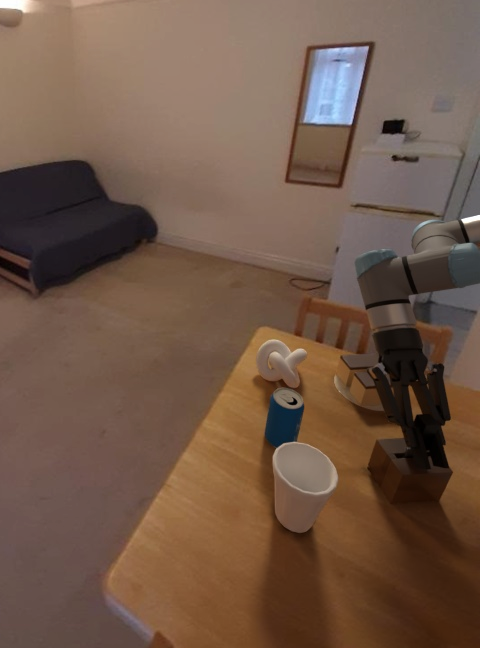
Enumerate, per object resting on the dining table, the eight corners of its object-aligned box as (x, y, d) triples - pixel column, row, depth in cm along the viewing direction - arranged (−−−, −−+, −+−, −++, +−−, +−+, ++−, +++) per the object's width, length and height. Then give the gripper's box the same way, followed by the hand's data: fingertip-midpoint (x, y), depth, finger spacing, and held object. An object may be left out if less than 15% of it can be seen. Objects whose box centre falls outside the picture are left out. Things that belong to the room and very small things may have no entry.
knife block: (411, 464, 80) (422, 436, 77) (439, 501, 73) (453, 472, 70) (366, 467, 80) (376, 439, 77) (390, 504, 73) (402, 475, 70)
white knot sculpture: (247, 381, 102) (251, 353, 98) (261, 355, 111) (265, 328, 107) (294, 399, 96) (300, 370, 93) (305, 369, 105) (310, 342, 102)
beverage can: (285, 458, 82) (294, 415, 77) (258, 438, 87) (264, 396, 82) (302, 440, 86) (311, 398, 81) (274, 422, 91) (282, 381, 85)
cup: (280, 479, 78) (290, 431, 73) (333, 516, 72) (348, 467, 66) (252, 514, 72) (261, 465, 67) (307, 559, 66) (322, 509, 60)
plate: (395, 380, 101) (396, 377, 100) (402, 421, 90) (403, 418, 89) (333, 365, 107) (334, 362, 106) (332, 402, 95) (333, 399, 95)
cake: (371, 371, 103) (376, 353, 100) (399, 404, 93) (406, 384, 90) (335, 373, 102) (340, 355, 100) (360, 406, 93) (366, 386, 90)
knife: (406, 477, 78) (432, 413, 70) (414, 489, 76) (443, 424, 68) (388, 478, 78) (413, 414, 70) (396, 490, 76) (423, 425, 68)
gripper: (419, 330, 80) (459, 461, 73) (343, 334, 80) (374, 466, 72) (449, 324, 73) (495, 468, 66) (365, 328, 73) (402, 474, 65)
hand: (432, 467), depth 69 cm, fingers closed on knife, 2 cm apart
